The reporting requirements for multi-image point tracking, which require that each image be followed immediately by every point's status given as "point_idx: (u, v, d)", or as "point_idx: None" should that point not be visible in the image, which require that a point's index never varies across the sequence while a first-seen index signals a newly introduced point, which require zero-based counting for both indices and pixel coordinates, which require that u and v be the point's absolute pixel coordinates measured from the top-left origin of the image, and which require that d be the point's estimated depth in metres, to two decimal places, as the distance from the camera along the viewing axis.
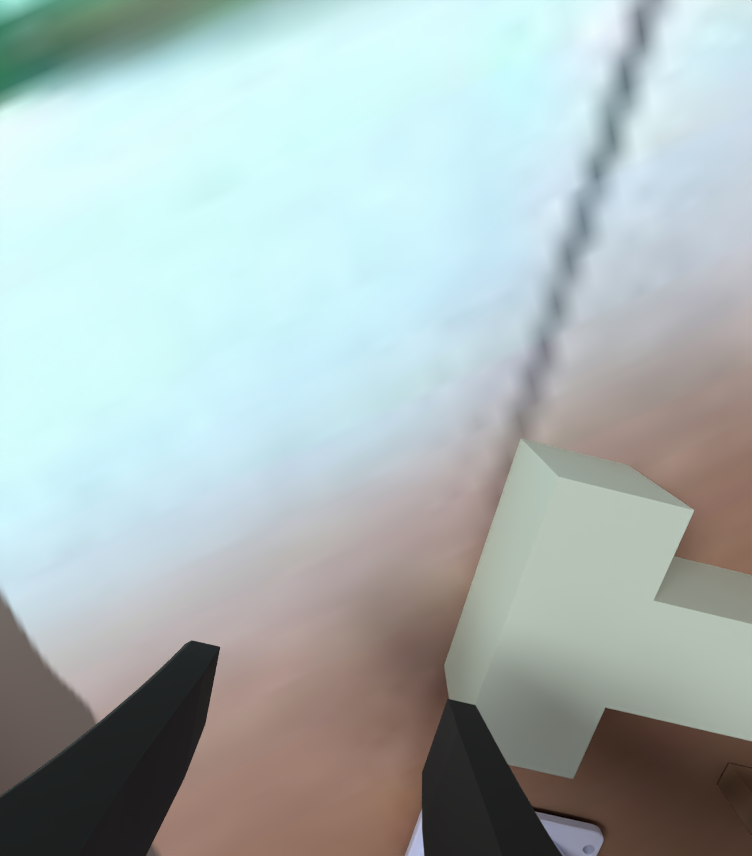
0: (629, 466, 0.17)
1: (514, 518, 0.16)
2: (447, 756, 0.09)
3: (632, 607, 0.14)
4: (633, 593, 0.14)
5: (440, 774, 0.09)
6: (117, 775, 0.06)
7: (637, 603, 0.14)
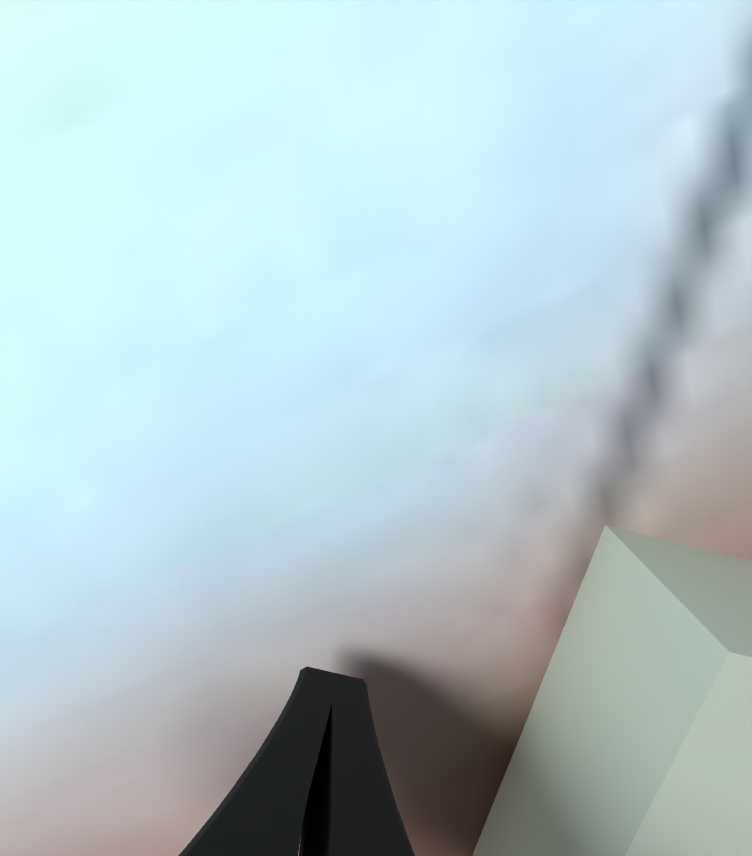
0: None
1: (606, 675, 0.09)
2: None
3: None
4: None
5: None
6: (293, 813, 0.07)
7: None
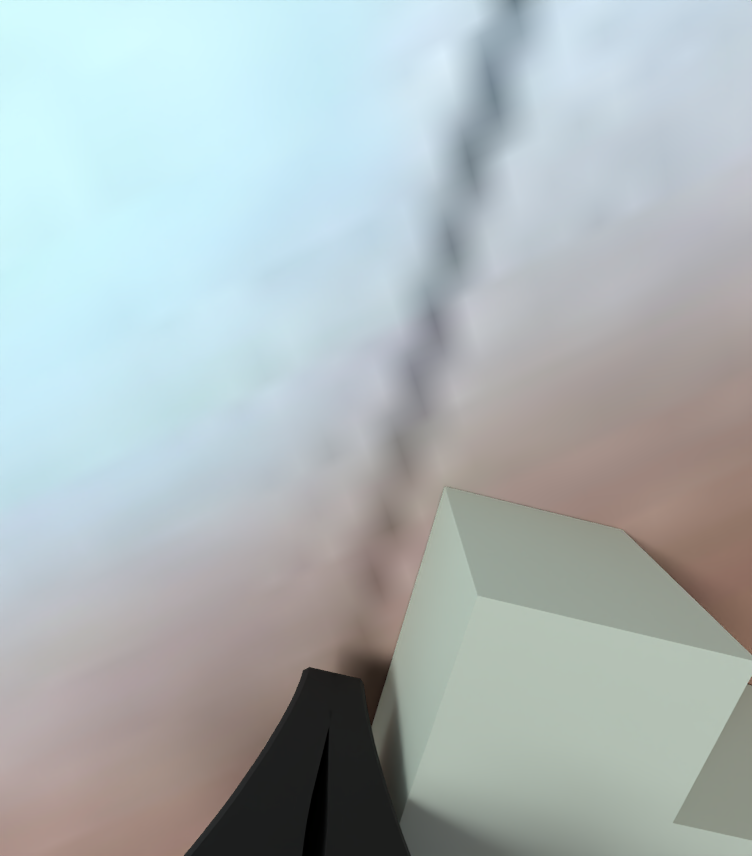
0: (626, 534, 0.10)
1: (422, 635, 0.09)
2: None
3: (630, 834, 0.07)
4: (633, 810, 0.07)
5: None
6: (297, 814, 0.07)
7: (641, 827, 0.07)
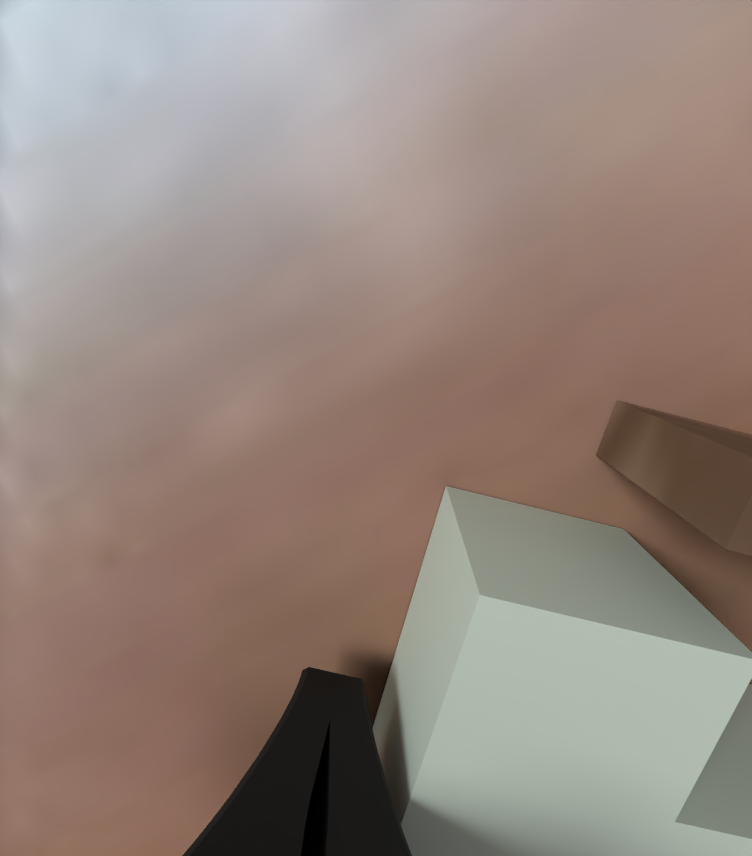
0: (628, 534, 0.10)
1: (424, 634, 0.09)
2: None
3: (632, 833, 0.07)
4: (635, 809, 0.07)
5: None
6: (296, 814, 0.07)
7: (643, 826, 0.07)
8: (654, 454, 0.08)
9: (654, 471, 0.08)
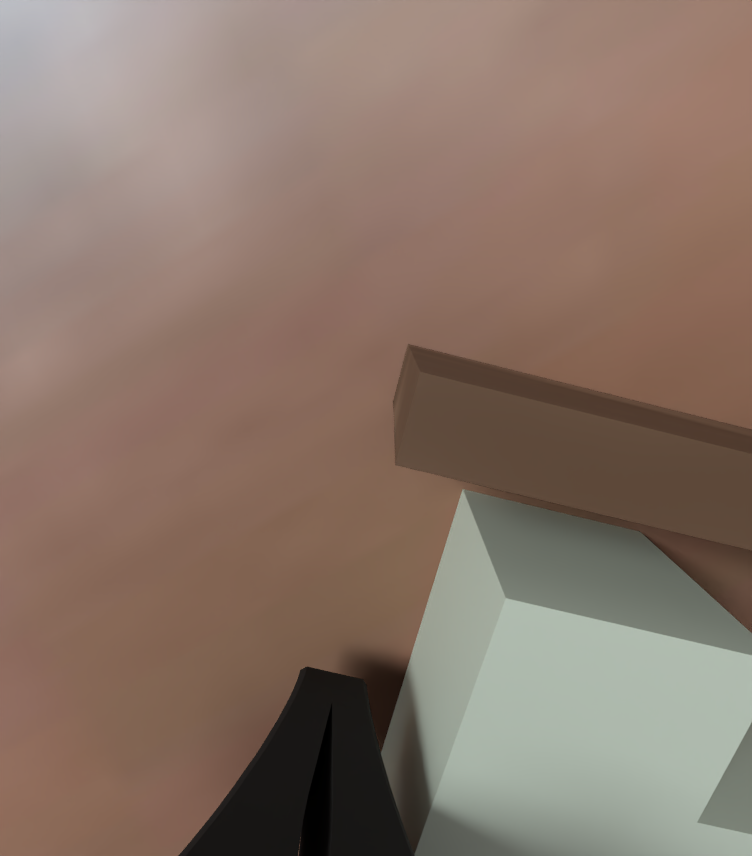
0: (644, 536, 0.10)
1: (443, 636, 0.09)
2: (324, 729, 0.09)
3: (655, 833, 0.07)
4: (658, 810, 0.07)
5: None
6: (293, 813, 0.07)
7: (665, 826, 0.07)
8: (403, 387, 0.08)
9: (399, 404, 0.08)
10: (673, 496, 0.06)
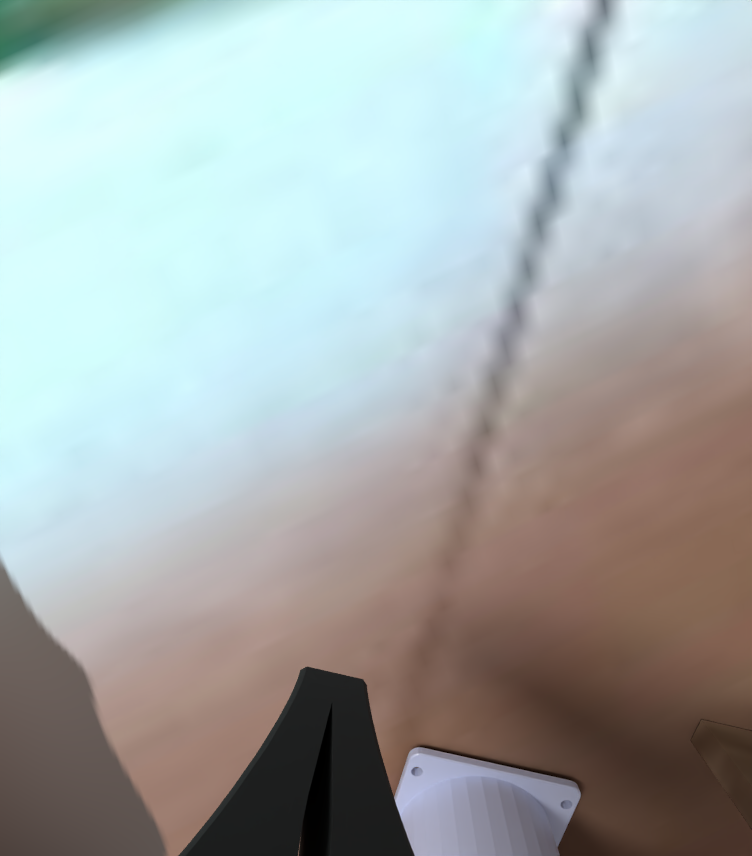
0: None
1: None
2: (324, 729, 0.09)
3: None
4: None
5: None
6: (293, 813, 0.07)
7: None
8: None
9: None
10: None
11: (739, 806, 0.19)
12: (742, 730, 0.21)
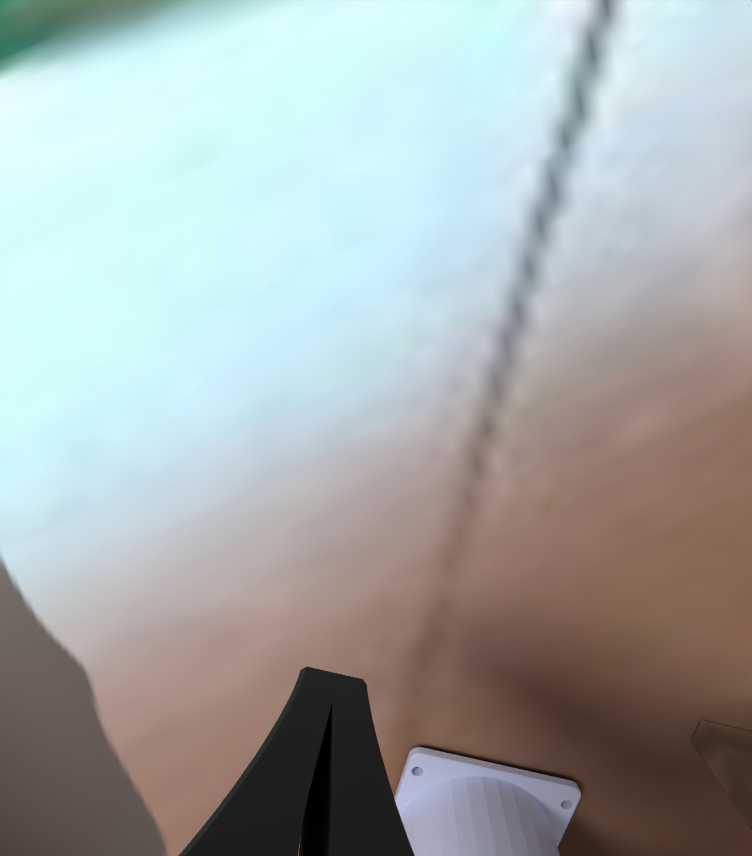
0: None
1: None
2: (324, 729, 0.09)
3: None
4: None
5: None
6: (293, 813, 0.07)
7: None
8: None
9: None
10: None
11: (739, 807, 0.19)
12: (742, 731, 0.21)
